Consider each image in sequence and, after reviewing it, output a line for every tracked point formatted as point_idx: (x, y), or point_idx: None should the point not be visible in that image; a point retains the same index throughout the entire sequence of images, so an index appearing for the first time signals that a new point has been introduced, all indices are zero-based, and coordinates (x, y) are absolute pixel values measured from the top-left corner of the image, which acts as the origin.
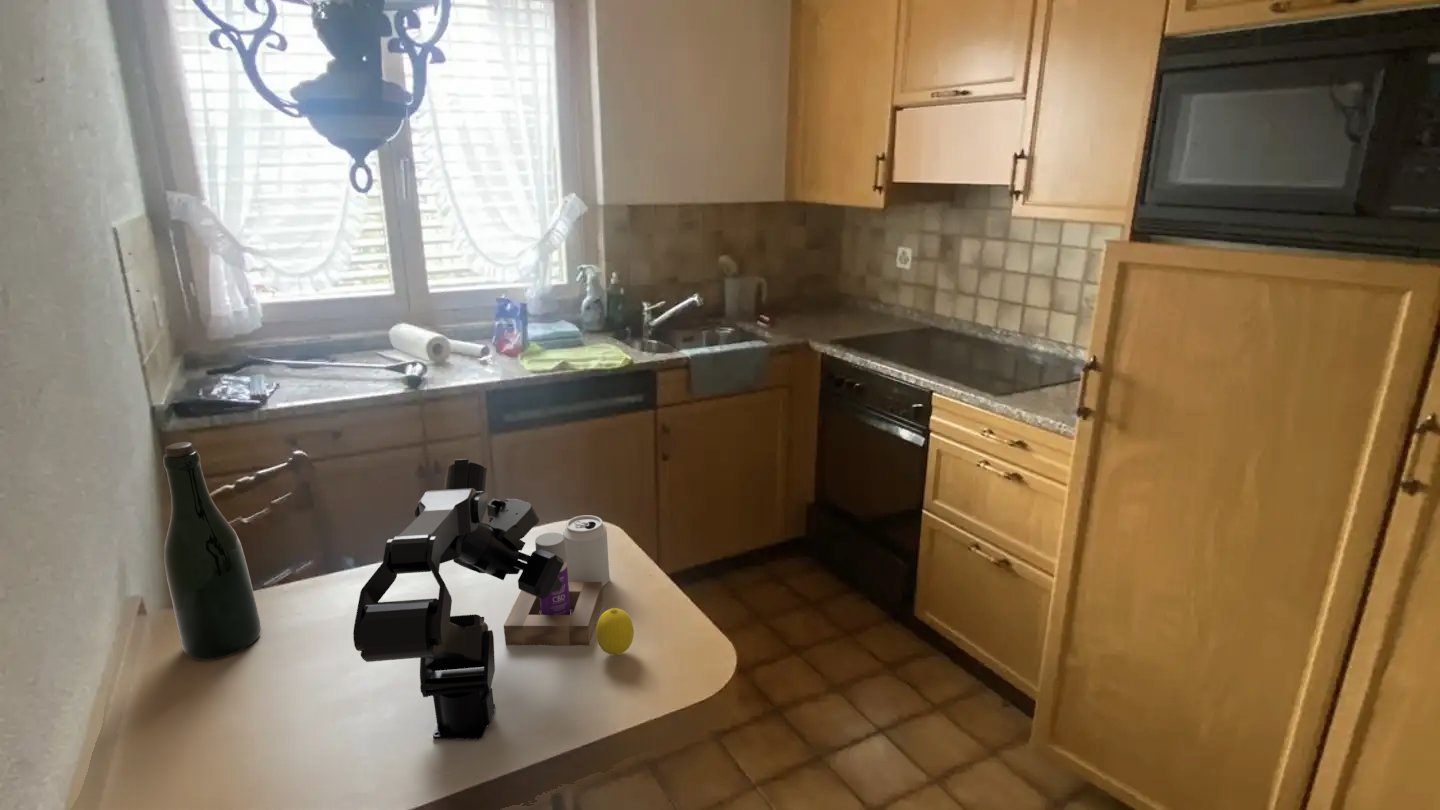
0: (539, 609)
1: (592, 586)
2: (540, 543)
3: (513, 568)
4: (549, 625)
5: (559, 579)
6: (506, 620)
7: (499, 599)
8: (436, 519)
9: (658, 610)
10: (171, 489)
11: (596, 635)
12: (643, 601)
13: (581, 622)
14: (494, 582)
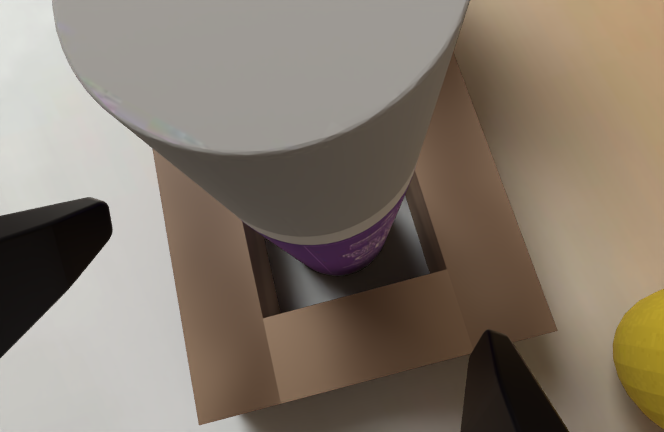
0: None
1: None
2: (179, 111)
3: (58, 257)
4: (392, 372)
5: (562, 423)
6: (193, 384)
7: (91, 156)
8: None
9: (638, 68)
10: None
11: (658, 416)
12: (561, 36)
13: (515, 313)
14: (34, 75)
